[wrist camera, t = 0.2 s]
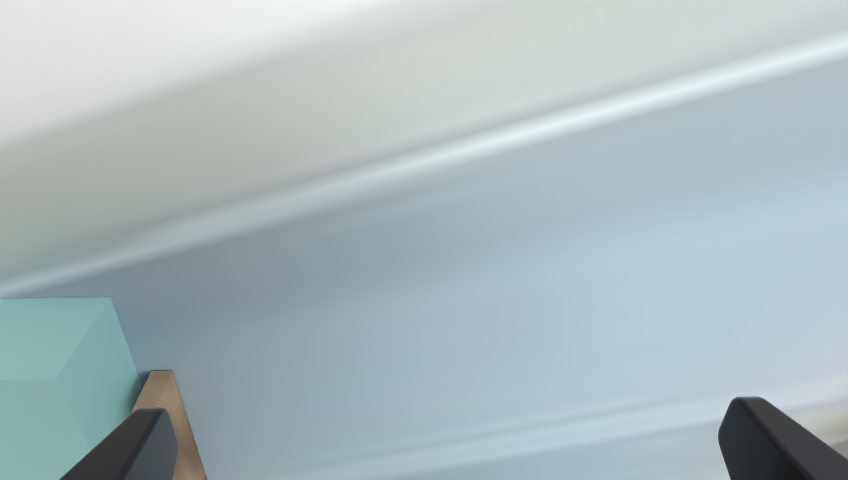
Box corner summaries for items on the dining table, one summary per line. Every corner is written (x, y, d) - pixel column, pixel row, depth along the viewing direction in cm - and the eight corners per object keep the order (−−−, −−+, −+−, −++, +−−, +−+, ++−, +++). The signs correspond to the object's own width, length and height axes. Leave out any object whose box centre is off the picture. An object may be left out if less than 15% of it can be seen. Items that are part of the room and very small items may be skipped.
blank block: (160, 429, 31) (122, 519, 27) (63, 432, 31) (10, 522, 26) (111, 294, 26) (56, 378, 22) (-5, 296, 26) (-83, 381, 22)
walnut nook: (208, 484, 33) (180, 575, 29) (56, 488, 33) (6, 581, 29) (172, 370, 28) (132, 459, 24) (-7, 373, 28) (-78, 465, 24)
